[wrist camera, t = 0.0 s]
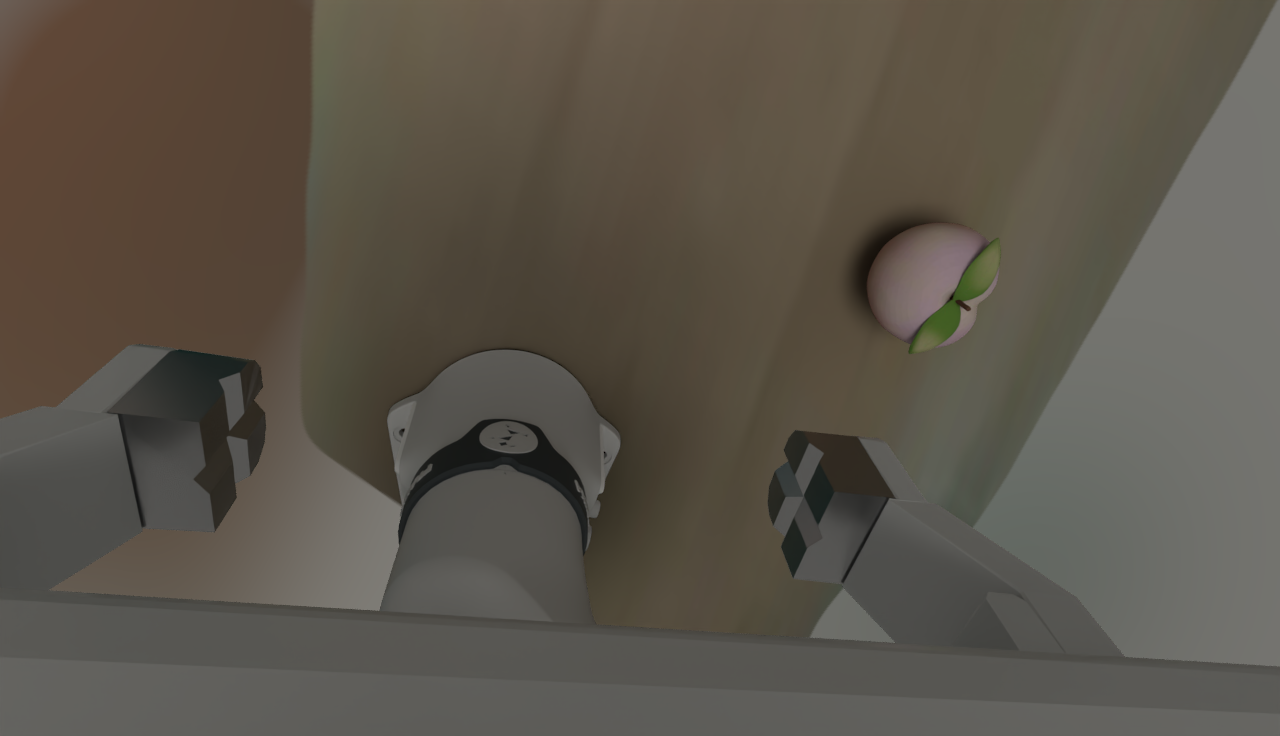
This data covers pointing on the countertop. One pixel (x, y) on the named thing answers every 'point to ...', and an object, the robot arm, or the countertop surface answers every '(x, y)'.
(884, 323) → the decorative fruit
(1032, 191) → the countertop surface
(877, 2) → the countertop surface
